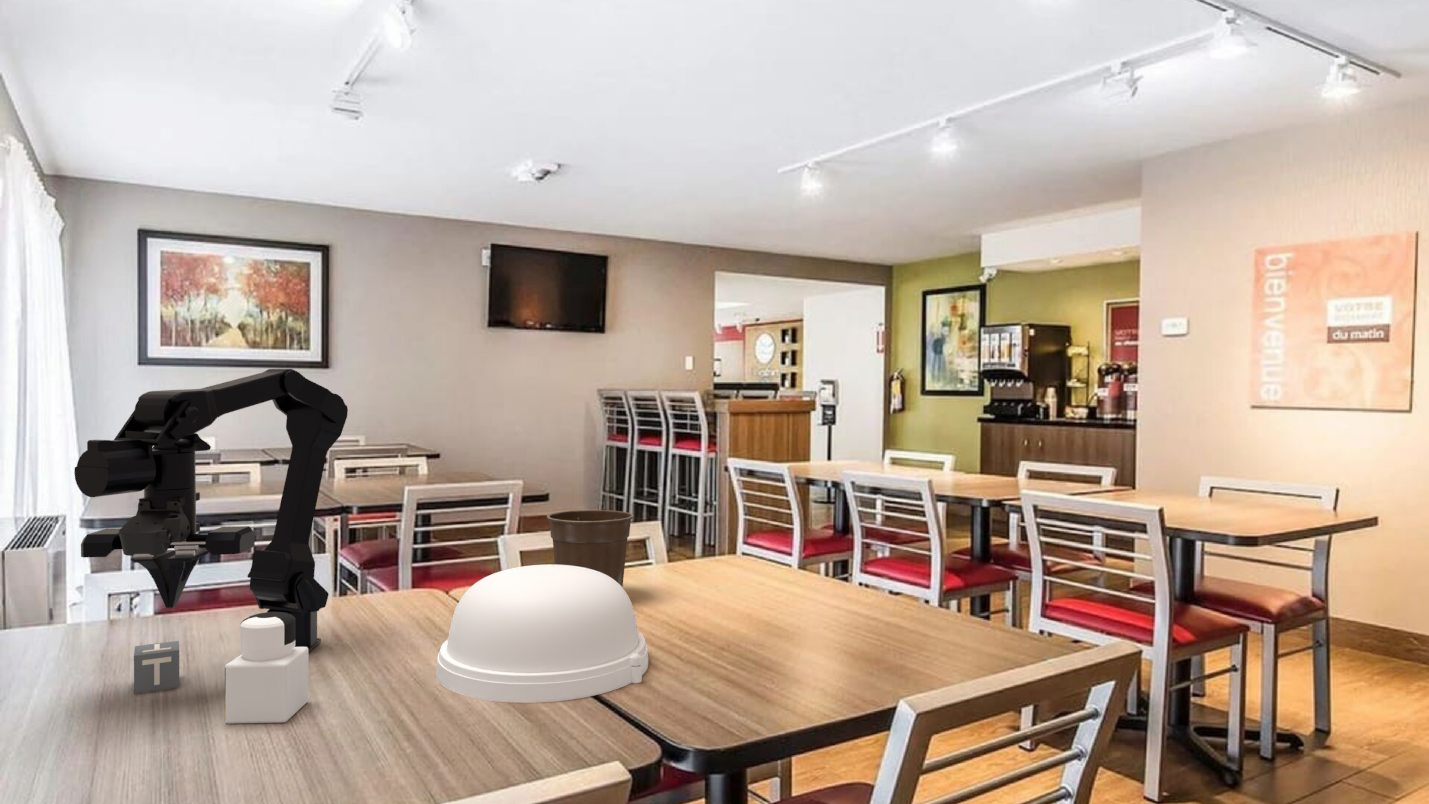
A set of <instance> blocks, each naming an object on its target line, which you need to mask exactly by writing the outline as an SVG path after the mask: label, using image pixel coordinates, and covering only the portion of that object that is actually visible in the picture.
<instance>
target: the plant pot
mask: <svg viewBox="0 0 1429 804" xmlns="http://www.w3.org/2000/svg"><path fill="white" fill-rule="evenodd" d="M546 519H547V520H548V521H549V531H550V537H551V539H552V547H553V556H554V558H553V559H554V565H570V566H578V567H584V568H588V569H592V570H595V571H598V572H601V573H603V574H605V575H607V576H609V577H611V578H612V579H614V580H615V581H616V582H617V583H619V584H620V585H621V586H622V588H623V586H624V577H625V576H624V575H625V566H626V556H627V547H628V538H629V537H630V534H631V533H630V531H631V530H630V529H631V524H632V523H631V522H632V521H631V520H632V519H634V514H633V513H631V512H626V511H621V510H612V509H611V510H606V509H577V510H565V511H559V512H558V511H557V512H551V513H549V514H547V515H546ZM623 589H624V588H623Z"/></svg>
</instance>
